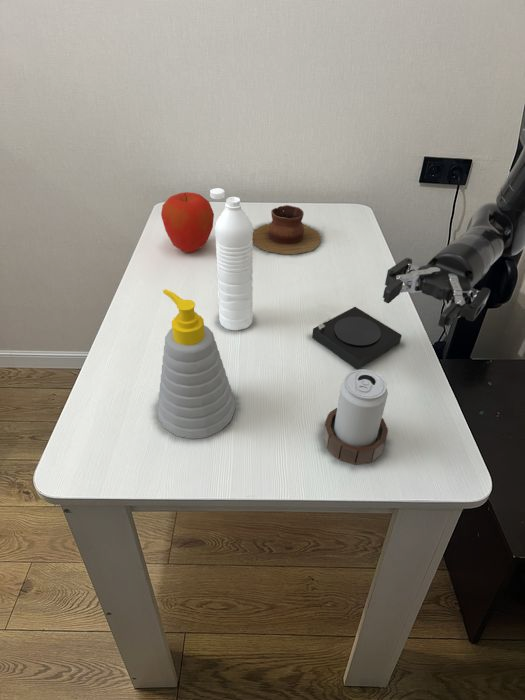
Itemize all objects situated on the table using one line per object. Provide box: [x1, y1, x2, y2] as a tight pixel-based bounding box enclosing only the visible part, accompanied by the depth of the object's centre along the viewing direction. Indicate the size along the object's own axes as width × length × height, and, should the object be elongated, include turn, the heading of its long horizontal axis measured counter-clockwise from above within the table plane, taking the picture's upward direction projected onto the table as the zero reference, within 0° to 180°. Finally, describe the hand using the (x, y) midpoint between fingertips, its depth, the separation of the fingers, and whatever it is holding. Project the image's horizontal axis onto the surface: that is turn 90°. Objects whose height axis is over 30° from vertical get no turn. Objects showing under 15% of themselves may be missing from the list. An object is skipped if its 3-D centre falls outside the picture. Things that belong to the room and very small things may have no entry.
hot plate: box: [311, 306, 403, 370], centre depth 91 cm, size 12×12×3 cm
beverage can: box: [332, 368, 389, 447], centre depth 70 cm, size 6×6×12 cm
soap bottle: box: [157, 288, 237, 440], centre depth 72 cm, size 12×12×20 cm
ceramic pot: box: [252, 204, 322, 255], centre depth 121 cm, size 18×18×7 cm
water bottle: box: [209, 187, 254, 331], centre depth 89 cm, size 9×6×25 cm
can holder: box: [322, 407, 389, 465], centre depth 73 cm, size 9×9×3 cm
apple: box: [160, 191, 215, 254], centre depth 114 cm, size 12×12×14 cm
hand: (413, 309), depth 69 cm, fingers open, 8 cm apart
